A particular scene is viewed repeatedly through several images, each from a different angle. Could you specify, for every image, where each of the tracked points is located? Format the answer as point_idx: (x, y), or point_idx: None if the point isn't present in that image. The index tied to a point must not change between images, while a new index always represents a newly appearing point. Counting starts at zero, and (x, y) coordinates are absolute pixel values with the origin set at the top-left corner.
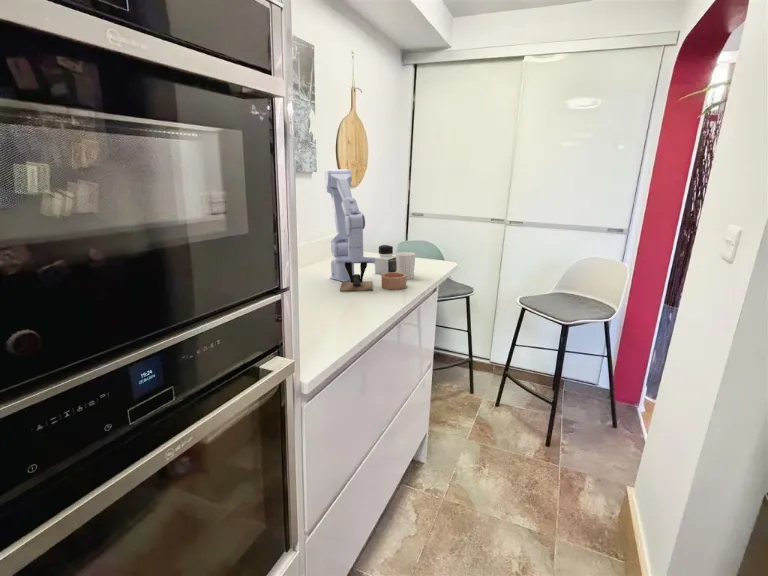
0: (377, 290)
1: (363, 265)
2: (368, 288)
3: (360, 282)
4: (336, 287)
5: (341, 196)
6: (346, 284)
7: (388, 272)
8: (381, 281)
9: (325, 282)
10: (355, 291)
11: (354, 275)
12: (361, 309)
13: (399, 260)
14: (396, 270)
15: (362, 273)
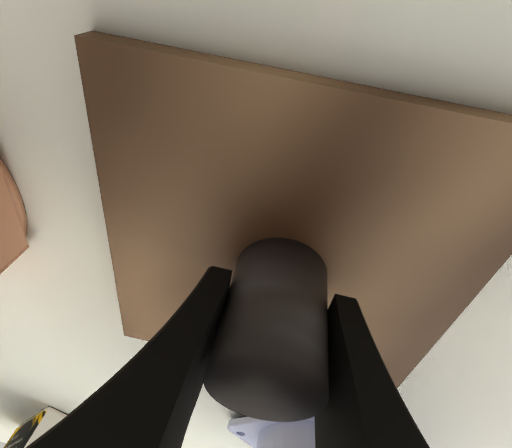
0: (31, 50)
1: None
2: (141, 96)
3: (231, 270)
4: (499, 311)
5: None
6: (381, 327)
7: (38, 423)
8: (6, 266)
9: (503, 435)
10: (345, 82)
11: (298, 388)
12: None
13: None
14: (13, 434)
15: (148, 373)
